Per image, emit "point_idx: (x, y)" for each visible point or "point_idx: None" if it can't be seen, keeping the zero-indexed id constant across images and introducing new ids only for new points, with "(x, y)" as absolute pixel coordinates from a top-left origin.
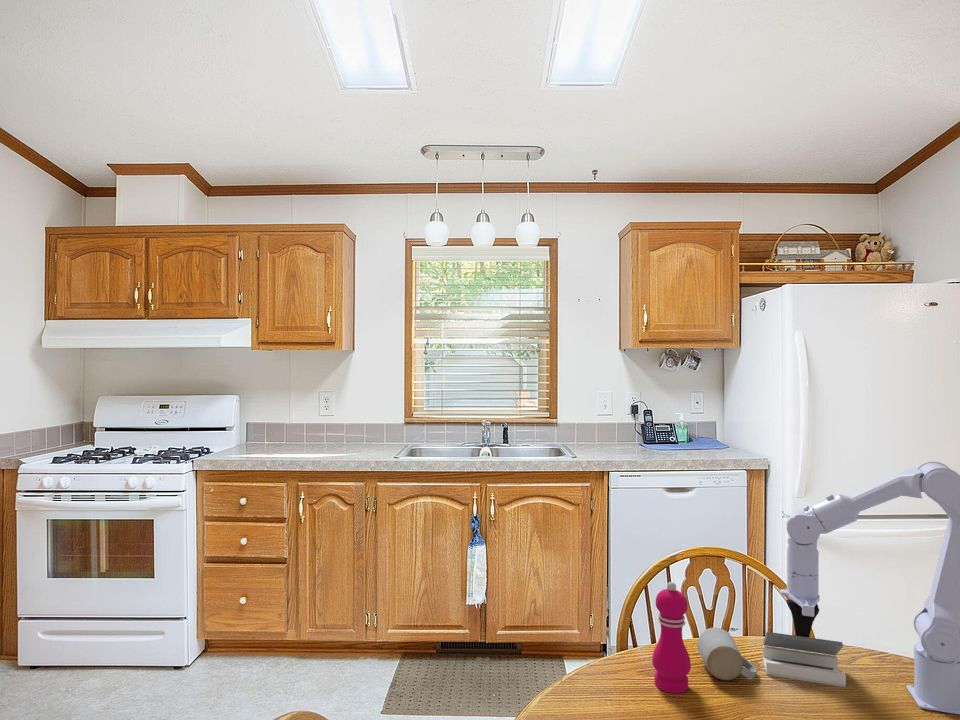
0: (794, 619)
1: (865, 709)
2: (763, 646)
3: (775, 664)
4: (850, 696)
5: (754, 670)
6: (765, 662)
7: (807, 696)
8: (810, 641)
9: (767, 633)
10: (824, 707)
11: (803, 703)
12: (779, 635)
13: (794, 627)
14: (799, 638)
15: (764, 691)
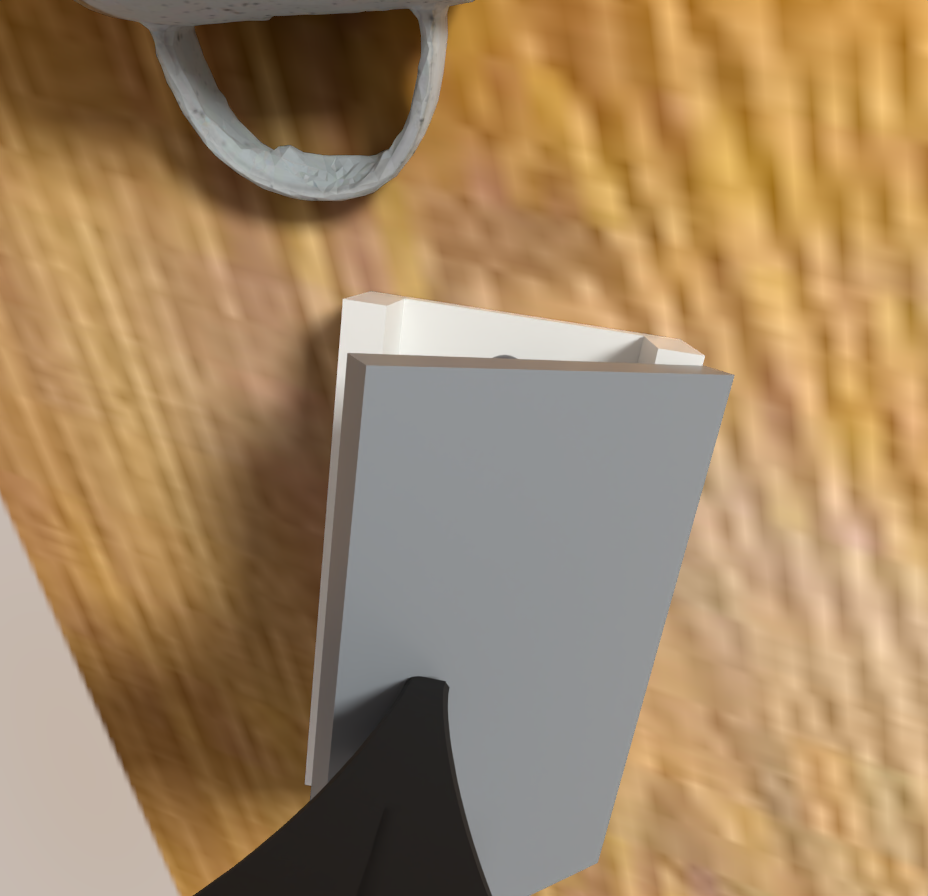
0: (274, 835)
1: (117, 718)
2: (681, 358)
3: (338, 368)
4: (233, 705)
5: (298, 179)
6: (541, 329)
7: (147, 477)
8: (317, 765)
9: (358, 368)
10: (53, 528)
11: (50, 425)
12: (343, 504)
13: (416, 739)
14: (329, 691)
15: (110, 207)
